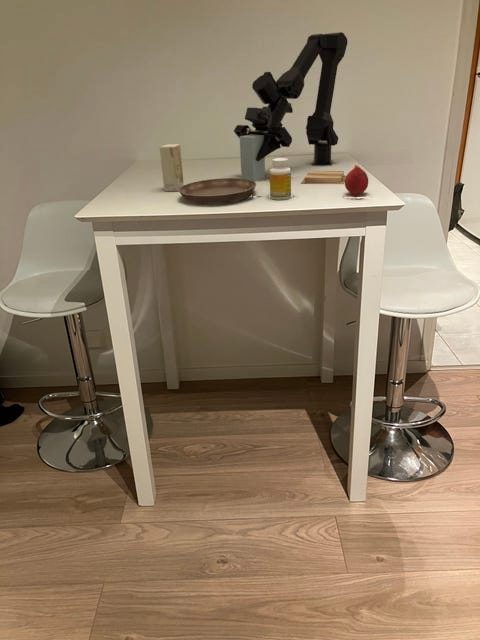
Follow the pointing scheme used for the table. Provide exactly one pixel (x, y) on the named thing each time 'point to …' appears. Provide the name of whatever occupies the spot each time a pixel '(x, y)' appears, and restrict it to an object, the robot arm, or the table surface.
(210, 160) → the table surface
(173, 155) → the skincare box
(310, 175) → the oak top slab
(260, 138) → the slate block
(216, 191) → the plant saucer
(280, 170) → the supplement bottle
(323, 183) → the walnut base slab
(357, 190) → the onion
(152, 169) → the table surface
